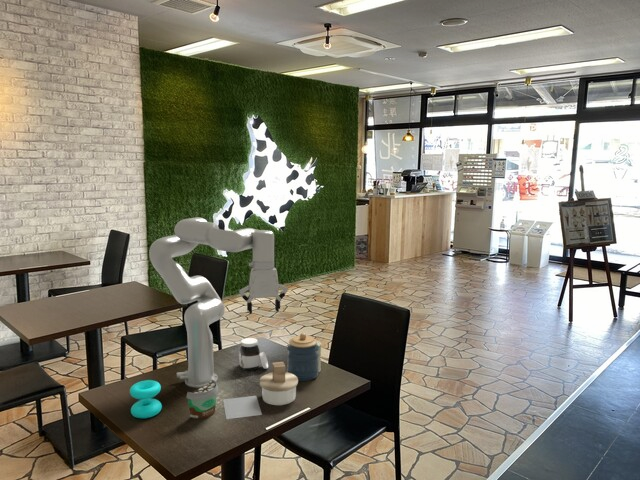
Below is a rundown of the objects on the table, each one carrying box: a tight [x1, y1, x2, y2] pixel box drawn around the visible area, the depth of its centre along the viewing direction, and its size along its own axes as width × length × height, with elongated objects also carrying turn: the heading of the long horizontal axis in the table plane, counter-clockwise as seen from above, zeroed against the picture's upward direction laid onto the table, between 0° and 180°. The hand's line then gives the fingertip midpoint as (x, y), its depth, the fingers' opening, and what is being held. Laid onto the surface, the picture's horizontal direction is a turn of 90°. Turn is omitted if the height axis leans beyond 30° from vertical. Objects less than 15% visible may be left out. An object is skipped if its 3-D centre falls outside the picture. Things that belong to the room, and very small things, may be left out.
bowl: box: [261, 386, 297, 406], centre depth 176 cm, size 12×12×6 cm
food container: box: [185, 380, 219, 420], centre depth 163 cm, size 12×6×10 cm, turn 148°
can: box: [317, 340, 322, 374], centre depth 199 cm, size 9×9×12 cm
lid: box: [259, 361, 299, 392], centre depth 174 cm, size 14×14×7 cm
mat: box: [222, 395, 263, 420], centre depth 168 cm, size 12×14×1 cm
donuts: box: [129, 379, 163, 419], centre depth 164 cm, size 10×10×10 cm
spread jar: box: [238, 337, 269, 371], centre depth 201 cm, size 12×11×12 cm
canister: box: [286, 332, 320, 382], centre depth 194 cm, size 13×13×18 cm
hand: (263, 311), depth 172 cm, fingers open, 9 cm apart
